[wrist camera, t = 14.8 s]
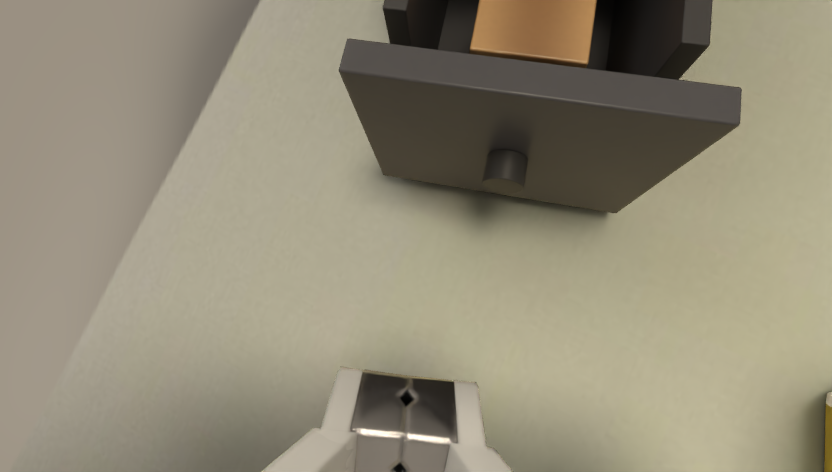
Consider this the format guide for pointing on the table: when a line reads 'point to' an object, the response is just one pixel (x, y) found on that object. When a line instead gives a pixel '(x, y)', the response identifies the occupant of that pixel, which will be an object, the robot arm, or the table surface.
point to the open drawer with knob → (540, 103)
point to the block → (535, 30)
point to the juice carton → (828, 434)
